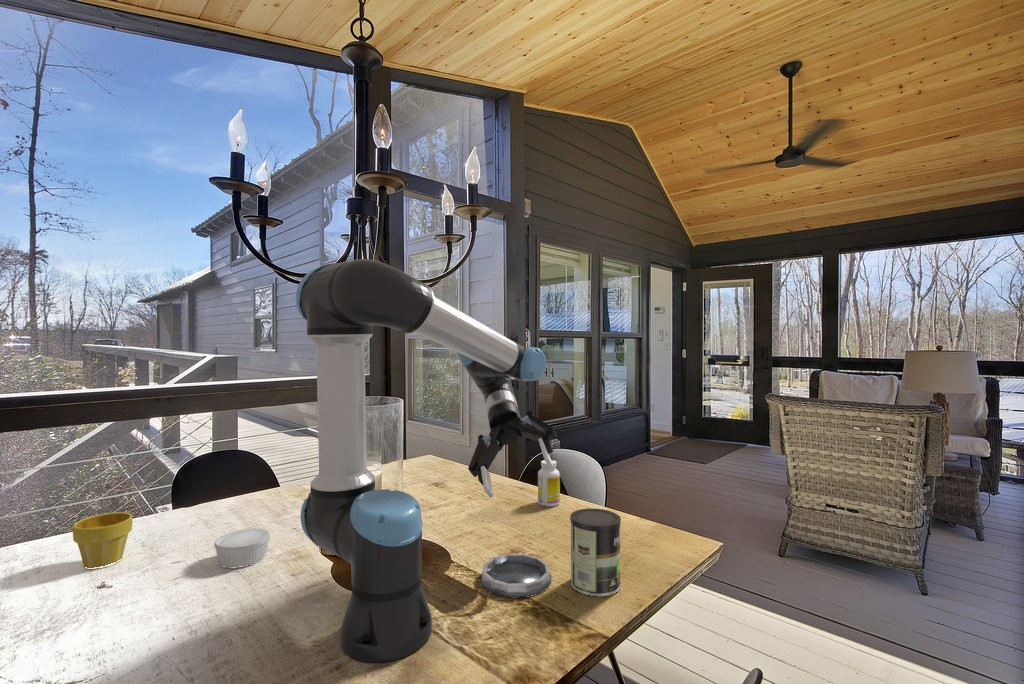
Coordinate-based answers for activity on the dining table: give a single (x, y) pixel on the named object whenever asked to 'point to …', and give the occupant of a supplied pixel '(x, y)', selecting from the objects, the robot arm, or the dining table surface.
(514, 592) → the shallow dark gray bowl
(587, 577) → the coffee can
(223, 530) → the dining table surface
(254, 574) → the dining table surface
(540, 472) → the supplement bottle
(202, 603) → the dining table surface
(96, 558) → the plant pot
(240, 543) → the ramekin
